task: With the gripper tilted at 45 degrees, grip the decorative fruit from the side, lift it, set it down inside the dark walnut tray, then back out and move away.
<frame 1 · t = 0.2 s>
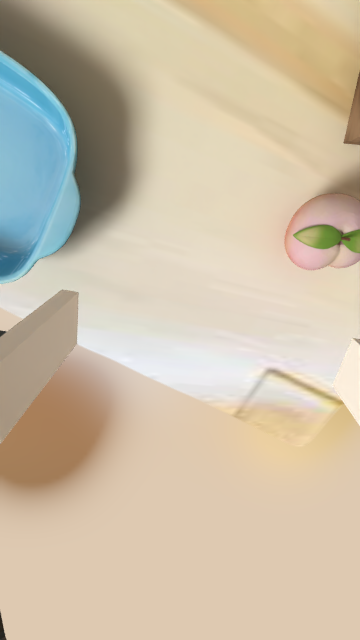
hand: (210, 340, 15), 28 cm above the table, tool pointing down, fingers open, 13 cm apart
decorative fruit: (308, 229, 40), on the table
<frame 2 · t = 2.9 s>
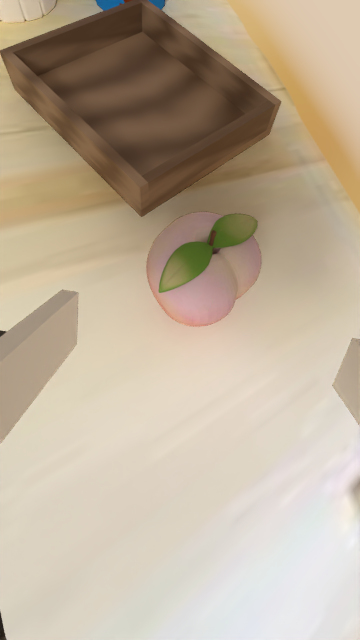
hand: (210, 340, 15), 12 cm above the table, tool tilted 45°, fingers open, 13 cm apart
decorative vase: (16, 1, 44), on the table
walnut tray: (142, 112, 38), on the table
decorative fruit: (192, 296, 30), on the table
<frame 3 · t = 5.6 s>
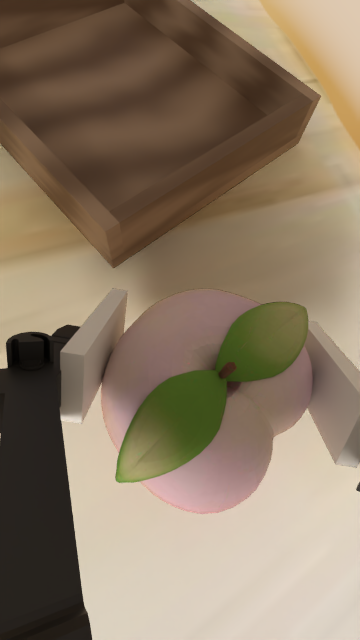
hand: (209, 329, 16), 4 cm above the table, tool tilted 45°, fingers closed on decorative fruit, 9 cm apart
walnut tray: (121, 110, 27), on the table
decorative fruit: (187, 400, 19), on the table, touching gripper
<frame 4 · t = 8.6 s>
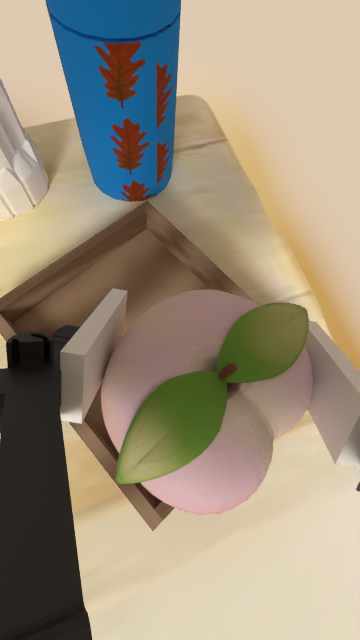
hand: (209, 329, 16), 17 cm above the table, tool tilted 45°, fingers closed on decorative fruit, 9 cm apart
decorative vase: (4, 186, 39), on the table
walnut tray: (150, 346, 33), on the table
thermos: (131, 171, 41), on the table
decorative fruit: (187, 401, 19), point 13 cm above the table, touching gripper
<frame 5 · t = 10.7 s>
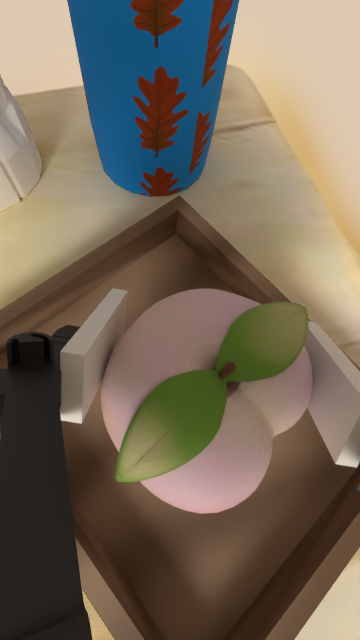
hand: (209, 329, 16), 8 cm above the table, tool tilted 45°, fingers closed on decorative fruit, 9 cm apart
walnut tray: (181, 405, 23), on the table
thermos: (153, 156, 31), on the table
decorative fruit: (187, 400, 19), point 4 cm above the table, touching gripper
when the fingers open (6 cm above the table, at t = 11.6 s): decorative fruit drops 1 cm, resting on walnut tray.
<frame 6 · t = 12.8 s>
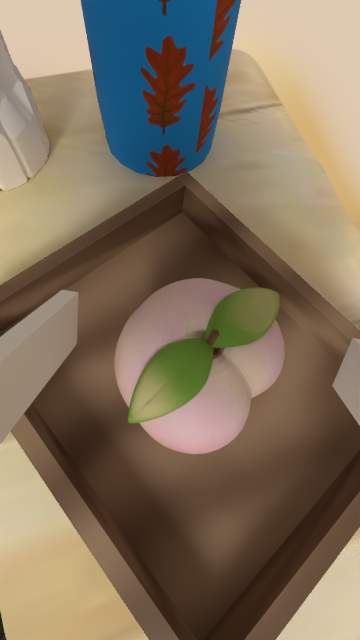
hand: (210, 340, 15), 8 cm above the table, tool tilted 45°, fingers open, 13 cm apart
walnut tray: (187, 379, 23), on the table
thermos: (159, 138, 31), on the table
decorative fruit: (184, 376, 22), point 1 cm above the table, touching walnut tray
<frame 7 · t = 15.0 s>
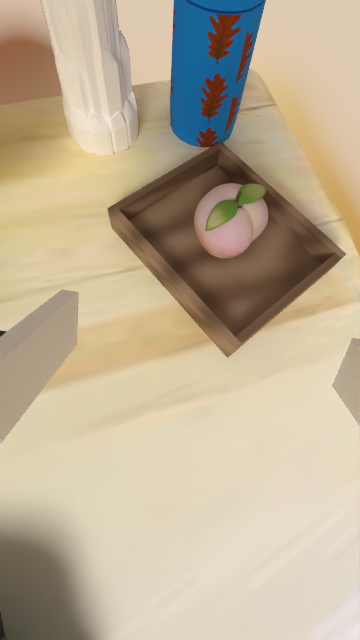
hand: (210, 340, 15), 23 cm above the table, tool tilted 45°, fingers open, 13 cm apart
decorative vase: (104, 131, 50), on the table
walnut tray: (221, 248, 44), on the table
thermos: (201, 124, 52), on the table
decorative fruit: (220, 245, 43), point 1 cm above the table, touching walnut tray
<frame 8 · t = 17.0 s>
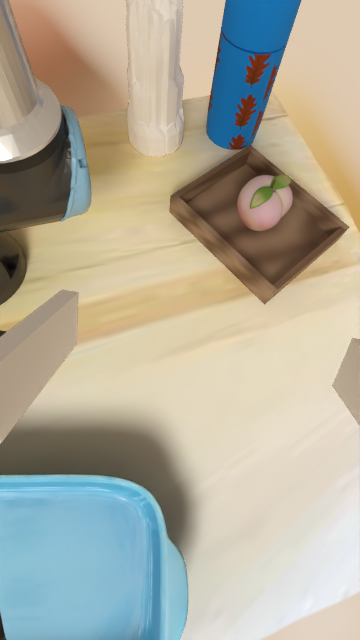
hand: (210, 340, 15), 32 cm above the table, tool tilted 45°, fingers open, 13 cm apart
decorative vase: (155, 138, 64), on the table
walnut tray: (253, 226, 57), on the table
thermos: (230, 132, 66), on the table
casserole dish: (26, 573, 37), on the table
decorative fruit: (253, 223, 56), point 1 cm above the table, touching walnut tray
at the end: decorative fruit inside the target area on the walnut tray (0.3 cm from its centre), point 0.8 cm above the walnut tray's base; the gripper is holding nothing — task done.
